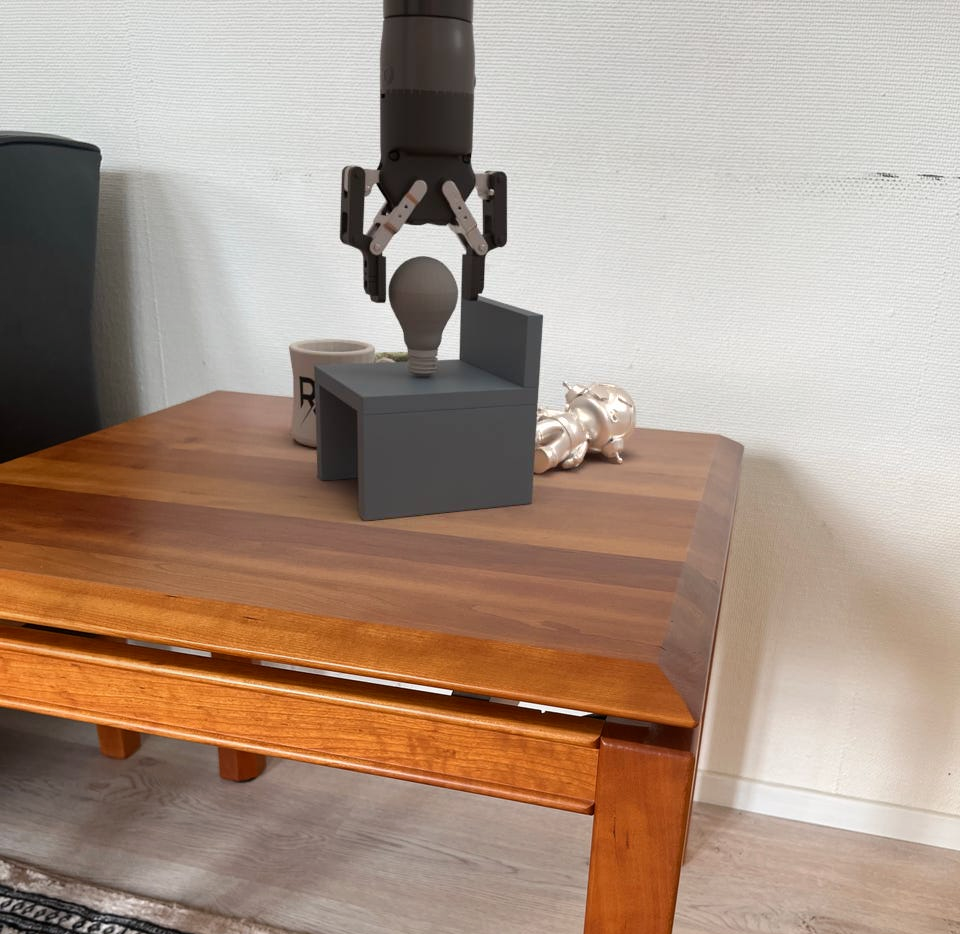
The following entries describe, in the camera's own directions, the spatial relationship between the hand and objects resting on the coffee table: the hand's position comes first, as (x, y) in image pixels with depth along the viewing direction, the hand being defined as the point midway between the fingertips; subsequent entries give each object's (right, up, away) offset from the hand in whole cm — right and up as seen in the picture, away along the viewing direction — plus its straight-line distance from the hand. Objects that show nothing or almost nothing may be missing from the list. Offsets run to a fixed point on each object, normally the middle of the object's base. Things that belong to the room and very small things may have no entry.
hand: (424, 301), depth 88 cm
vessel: (-5, -1, +37) cm, 38 cm away
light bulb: (0, -6, +3) cm, 7 cm away
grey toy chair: (-1, -15, +7) cm, 17 cm away
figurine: (+15, -11, +19) cm, 26 cm away
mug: (-9, -8, +22) cm, 26 cm away
